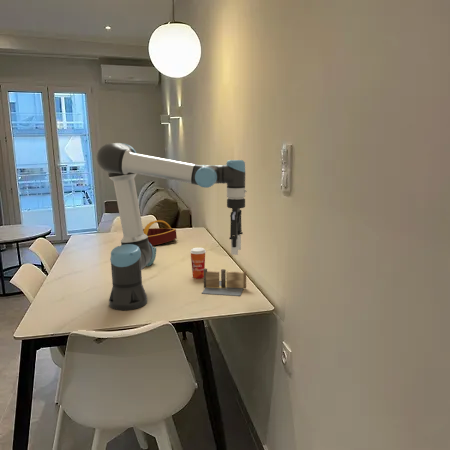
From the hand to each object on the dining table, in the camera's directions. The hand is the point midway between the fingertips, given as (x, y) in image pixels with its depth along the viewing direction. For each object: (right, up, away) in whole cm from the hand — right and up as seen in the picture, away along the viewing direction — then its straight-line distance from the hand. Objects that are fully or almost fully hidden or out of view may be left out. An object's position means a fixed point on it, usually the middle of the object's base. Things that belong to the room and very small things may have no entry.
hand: (236, 251), depth 166 cm
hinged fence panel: (0, -17, +10) cm, 20 cm away
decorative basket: (-50, 0, +100) cm, 112 cm away
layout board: (-5, -17, +12) cm, 21 cm away
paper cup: (-18, -14, +27) cm, 35 cm away
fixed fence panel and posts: (-9, -17, +12) cm, 23 cm away
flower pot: (-47, -10, +48) cm, 68 cm away
